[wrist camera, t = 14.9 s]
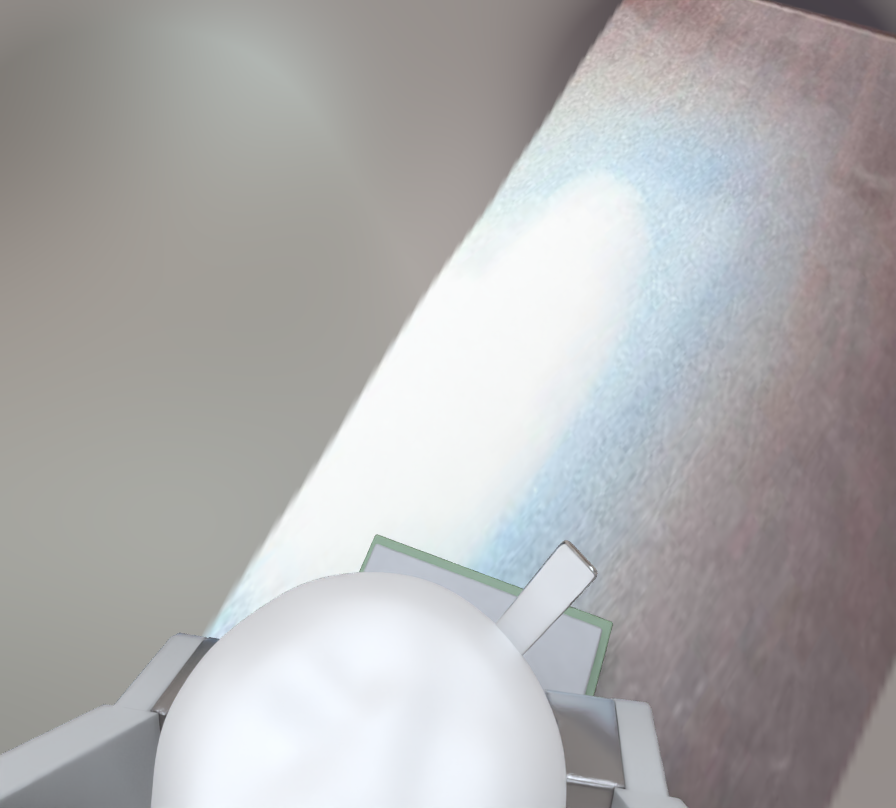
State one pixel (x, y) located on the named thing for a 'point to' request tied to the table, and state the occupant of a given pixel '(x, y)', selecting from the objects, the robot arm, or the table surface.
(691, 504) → the table surface
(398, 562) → the scale
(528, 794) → the milkshake
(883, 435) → the table surface
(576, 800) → the robot arm
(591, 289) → the table surface
